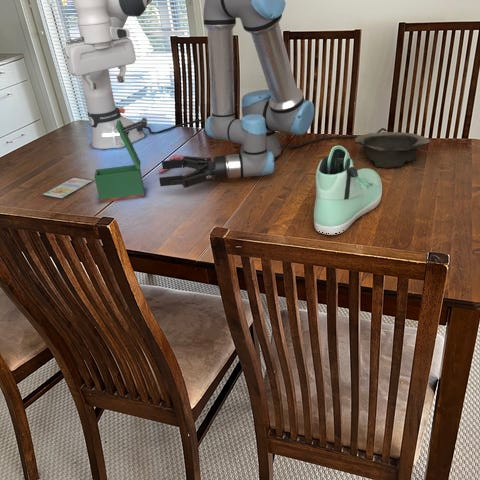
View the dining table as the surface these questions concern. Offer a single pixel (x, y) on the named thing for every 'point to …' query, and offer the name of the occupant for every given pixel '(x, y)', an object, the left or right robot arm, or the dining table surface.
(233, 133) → the right robot arm
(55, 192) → the baking ingredient package
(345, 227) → the sneaker
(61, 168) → the dining table surface
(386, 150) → the stone bowl
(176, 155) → the candy cane
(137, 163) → the lid
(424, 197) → the dining table surface
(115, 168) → the chest
